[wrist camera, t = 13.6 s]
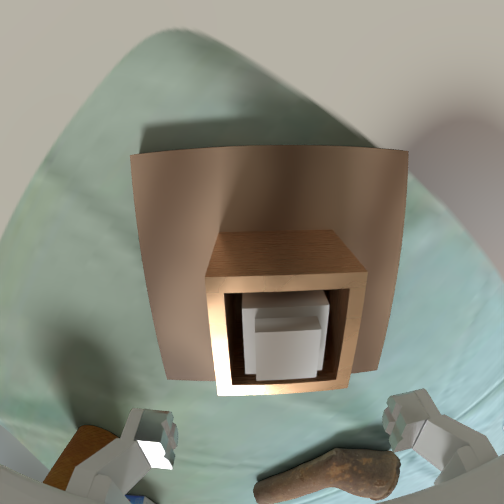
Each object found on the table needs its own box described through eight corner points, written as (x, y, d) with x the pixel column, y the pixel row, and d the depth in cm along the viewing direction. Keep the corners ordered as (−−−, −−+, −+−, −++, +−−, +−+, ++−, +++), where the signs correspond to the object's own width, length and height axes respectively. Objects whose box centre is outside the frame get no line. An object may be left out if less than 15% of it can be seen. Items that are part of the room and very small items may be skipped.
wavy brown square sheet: (397, 149, 17) (483, 164, 9) (371, 358, 23) (407, 437, 15) (138, 153, 17) (63, 169, 10) (171, 366, 23) (146, 452, 15)
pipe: (239, 510, 25) (293, 535, 26) (374, 457, 22) (414, 488, 23) (246, 471, 32) (295, 500, 33) (363, 413, 28) (402, 450, 29)
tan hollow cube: (332, 229, 18) (368, 271, 12) (324, 325, 20) (347, 387, 14) (218, 232, 18) (204, 277, 12) (225, 329, 20) (218, 395, 14)
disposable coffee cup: (156, 463, 29) (138, 548, 17) (96, 461, 30) (71, 532, 18) (112, 414, 26) (75, 511, 14) (51, 414, 26) (12, 490, 15)
